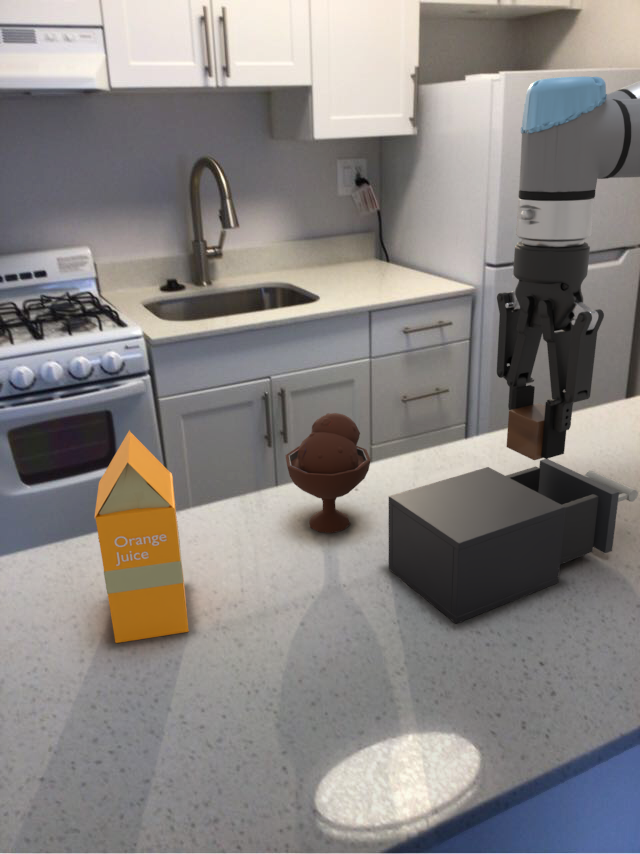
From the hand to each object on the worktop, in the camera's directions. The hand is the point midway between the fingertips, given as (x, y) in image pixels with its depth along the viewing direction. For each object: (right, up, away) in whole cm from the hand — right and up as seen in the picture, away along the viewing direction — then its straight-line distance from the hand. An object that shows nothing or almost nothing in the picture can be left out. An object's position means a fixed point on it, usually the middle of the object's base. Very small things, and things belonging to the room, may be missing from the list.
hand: (535, 447), depth 87 cm
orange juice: (-43, -18, -5) cm, 47 cm away
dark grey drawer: (+4, -11, +6) cm, 13 cm away
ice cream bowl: (-24, -11, +13) cm, 29 cm away
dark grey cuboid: (-7, -15, 0) cm, 17 cm away
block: (0, 0, 0) cm, 0 cm away
